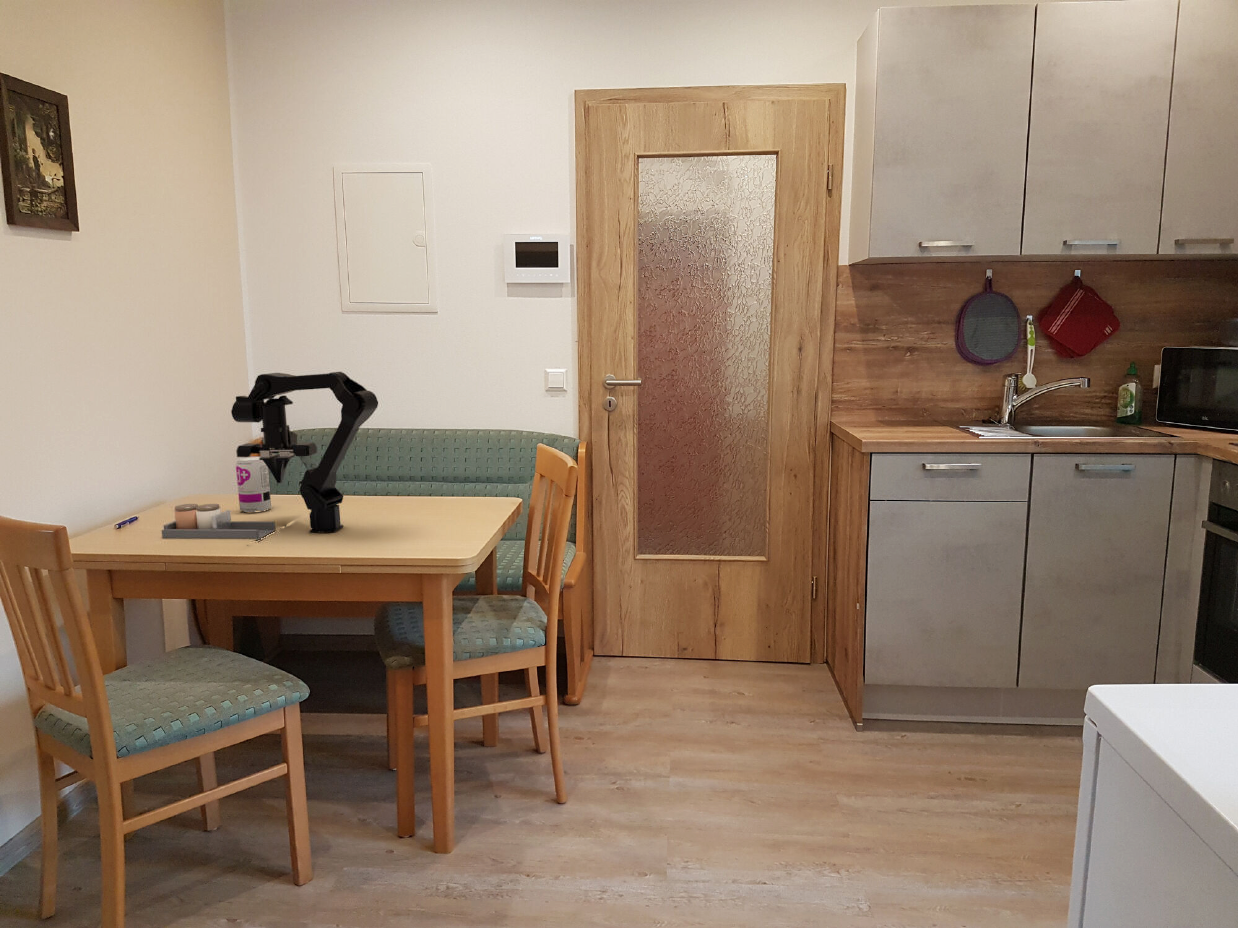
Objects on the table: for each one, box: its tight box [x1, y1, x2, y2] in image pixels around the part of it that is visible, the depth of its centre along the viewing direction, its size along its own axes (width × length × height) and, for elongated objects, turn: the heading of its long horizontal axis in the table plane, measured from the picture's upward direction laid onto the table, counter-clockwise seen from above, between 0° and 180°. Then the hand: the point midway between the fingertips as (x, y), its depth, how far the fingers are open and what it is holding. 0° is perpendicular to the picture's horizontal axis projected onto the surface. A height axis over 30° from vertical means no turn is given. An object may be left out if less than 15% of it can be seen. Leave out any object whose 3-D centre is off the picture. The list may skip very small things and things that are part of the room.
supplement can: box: [235, 456, 272, 513], centre depth 240 cm, size 8×8×15 cm
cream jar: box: [196, 503, 222, 529], centre depth 211 cm, size 6×6×7 cm
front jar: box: [173, 503, 199, 529], centre depth 211 cm, size 6×6×7 cm
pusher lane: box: [161, 520, 276, 541], centre depth 211 cm, size 24×10×4 cm, turn 86°
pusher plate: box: [212, 509, 232, 530], centre depth 211 cm, size 1×7×5 cm, turn 176°
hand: (279, 482), depth 219 cm, fingers closed
